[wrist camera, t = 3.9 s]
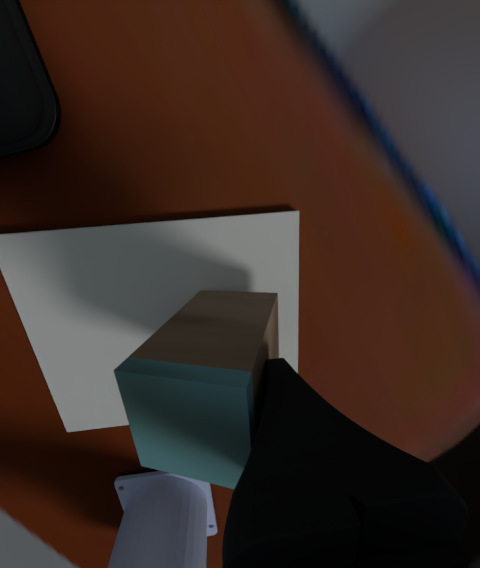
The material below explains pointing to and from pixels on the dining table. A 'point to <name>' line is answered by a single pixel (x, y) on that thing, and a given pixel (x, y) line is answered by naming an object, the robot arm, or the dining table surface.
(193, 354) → the teal and wood block
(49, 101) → the carrying case or bag
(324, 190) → the dining table surface
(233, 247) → the mat
